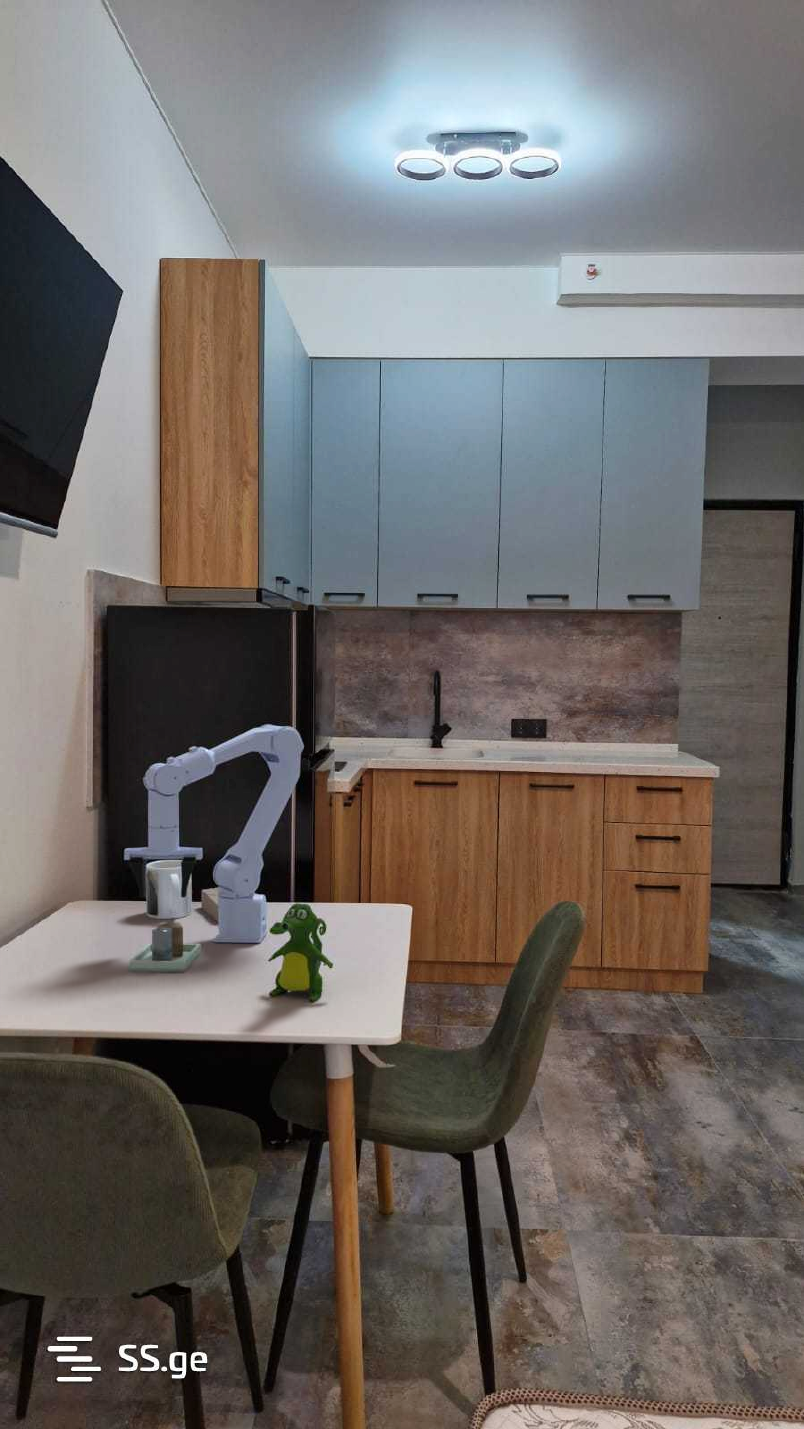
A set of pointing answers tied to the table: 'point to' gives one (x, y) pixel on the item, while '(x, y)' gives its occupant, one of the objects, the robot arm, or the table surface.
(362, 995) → the table surface
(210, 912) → the brick
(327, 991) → the table surface
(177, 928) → the block
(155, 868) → the mug
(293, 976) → the toy
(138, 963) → the tray
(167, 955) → the peg
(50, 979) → the table surface
